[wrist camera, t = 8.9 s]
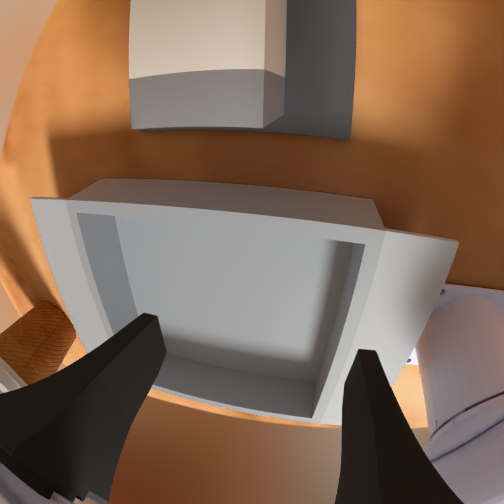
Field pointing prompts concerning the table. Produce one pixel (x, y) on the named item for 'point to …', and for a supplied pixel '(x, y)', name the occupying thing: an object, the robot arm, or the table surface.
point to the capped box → (206, 63)
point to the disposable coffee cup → (34, 346)
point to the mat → (314, 71)
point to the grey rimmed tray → (245, 286)
